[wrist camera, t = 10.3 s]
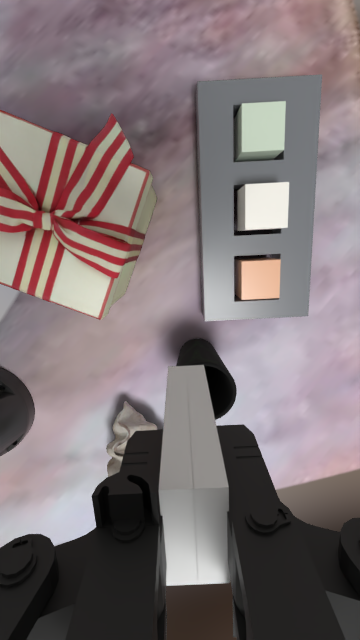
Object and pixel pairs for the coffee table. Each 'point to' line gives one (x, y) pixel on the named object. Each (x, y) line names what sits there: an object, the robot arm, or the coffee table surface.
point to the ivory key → (262, 206)
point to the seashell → (124, 435)
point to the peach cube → (257, 278)
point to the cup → (211, 373)
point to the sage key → (259, 131)
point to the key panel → (226, 176)
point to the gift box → (70, 214)
